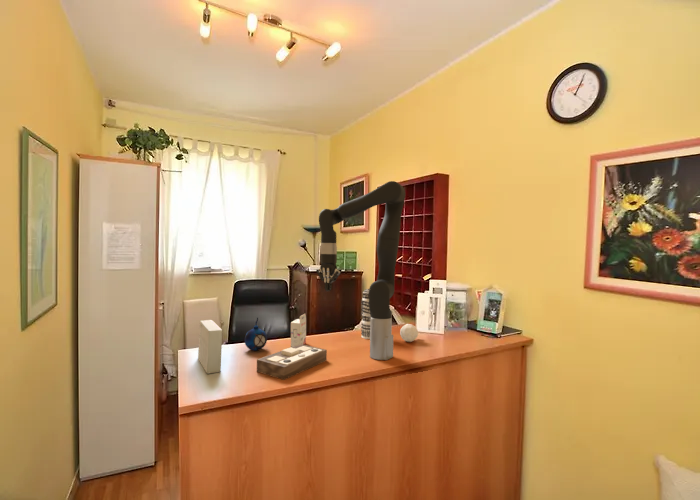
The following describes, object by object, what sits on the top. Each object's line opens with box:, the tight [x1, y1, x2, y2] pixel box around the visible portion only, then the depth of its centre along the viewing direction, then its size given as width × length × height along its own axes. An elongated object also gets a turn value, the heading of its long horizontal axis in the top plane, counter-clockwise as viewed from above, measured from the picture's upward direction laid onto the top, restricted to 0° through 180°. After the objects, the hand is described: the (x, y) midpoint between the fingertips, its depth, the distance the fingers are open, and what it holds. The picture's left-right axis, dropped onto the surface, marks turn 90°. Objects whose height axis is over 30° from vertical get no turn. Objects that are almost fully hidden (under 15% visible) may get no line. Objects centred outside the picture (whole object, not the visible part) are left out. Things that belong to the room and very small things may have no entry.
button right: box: [296, 346, 312, 352], centre depth 144 cm, size 5×5×3 cm
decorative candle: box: [360, 288, 371, 340], centre depth 180 cm, size 9×9×25 cm
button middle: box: [281, 346, 300, 357], centre depth 137 cm, size 5×5×3 cm
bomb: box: [244, 317, 268, 352], centre depth 155 cm, size 10×11×15 cm
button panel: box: [256, 344, 328, 381], centre depth 136 cm, size 14×25×4 cm, turn 147°
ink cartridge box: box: [290, 313, 307, 347], centre depth 164 cm, size 9×5×15 cm, turn 168°
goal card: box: [278, 347, 323, 365], centre depth 134 cm, size 4×21×1 cm, turn 147°
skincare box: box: [197, 319, 223, 375], centre depth 136 cm, size 21×5×16 cm, turn 32°
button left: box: [266, 356, 286, 363], centre depth 130 cm, size 5×5×3 cm
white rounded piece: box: [399, 323, 419, 343], centre depth 174 cm, size 9×9×12 cm
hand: (328, 290), depth 158 cm, fingers closed
